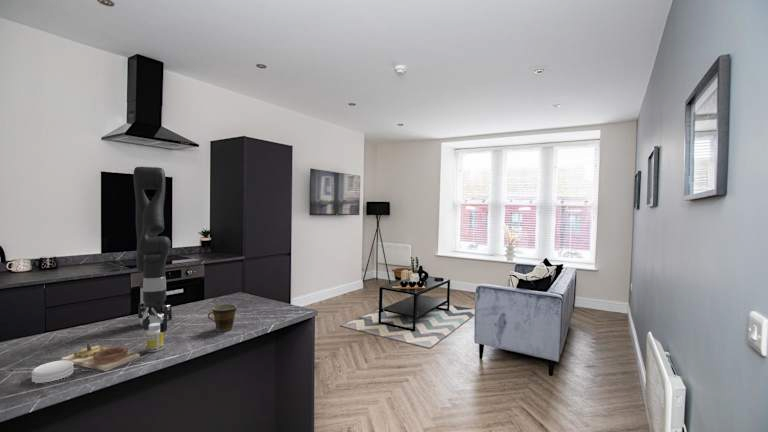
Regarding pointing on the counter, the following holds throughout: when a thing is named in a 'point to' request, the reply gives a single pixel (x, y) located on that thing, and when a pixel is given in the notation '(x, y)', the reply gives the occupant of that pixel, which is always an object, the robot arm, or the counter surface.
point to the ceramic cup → (224, 316)
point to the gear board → (101, 357)
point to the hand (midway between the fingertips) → (154, 330)
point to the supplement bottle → (154, 338)
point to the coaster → (52, 371)
